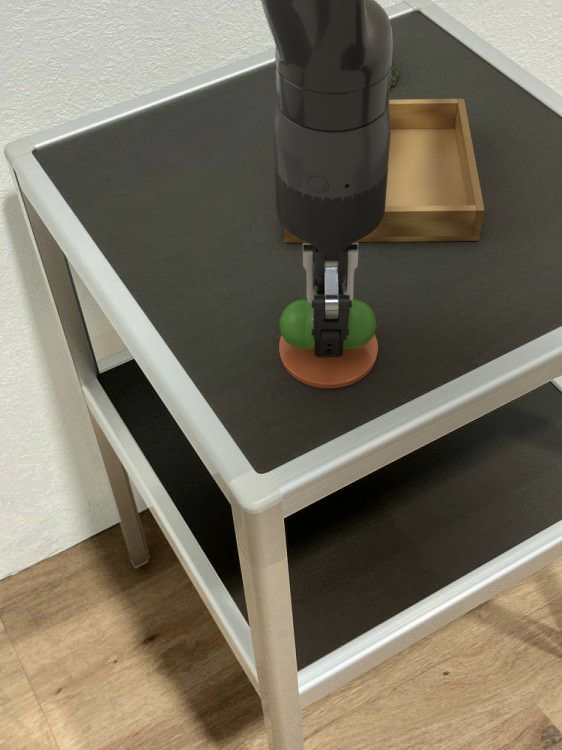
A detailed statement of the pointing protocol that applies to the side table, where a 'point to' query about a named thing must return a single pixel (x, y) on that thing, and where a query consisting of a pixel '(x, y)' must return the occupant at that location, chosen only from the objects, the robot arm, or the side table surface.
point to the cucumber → (300, 328)
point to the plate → (329, 365)
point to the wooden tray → (428, 176)
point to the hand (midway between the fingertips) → (328, 331)
